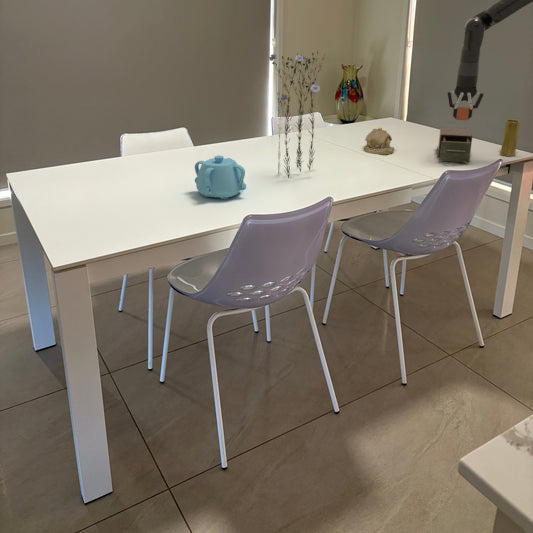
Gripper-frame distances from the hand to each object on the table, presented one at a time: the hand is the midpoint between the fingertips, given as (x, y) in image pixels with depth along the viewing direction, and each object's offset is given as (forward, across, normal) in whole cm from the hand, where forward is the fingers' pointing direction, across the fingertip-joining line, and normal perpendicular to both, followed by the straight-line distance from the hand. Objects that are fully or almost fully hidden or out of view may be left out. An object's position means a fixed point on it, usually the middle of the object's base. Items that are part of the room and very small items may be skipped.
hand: (461, 118), depth 235 cm
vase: (+17, +21, +14) cm, 31 cm away
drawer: (+16, -1, -1) cm, 16 cm away
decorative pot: (+18, -80, -64) cm, 104 cm away
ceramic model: (+17, -32, +9) cm, 38 cm away
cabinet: (+17, -1, +10) cm, 20 cm away
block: (0, 0, 0) cm, 0 cm away
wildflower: (+18, -60, -36) cm, 72 cm away
